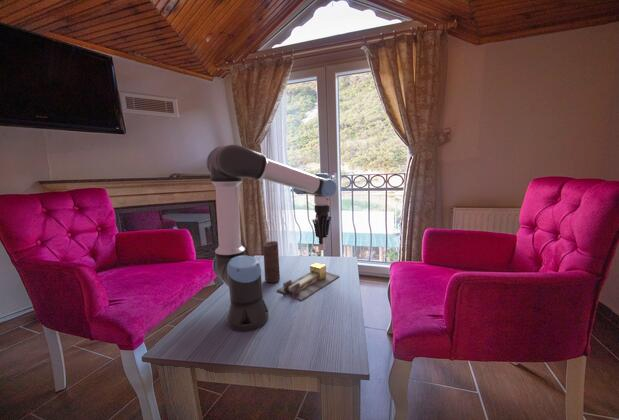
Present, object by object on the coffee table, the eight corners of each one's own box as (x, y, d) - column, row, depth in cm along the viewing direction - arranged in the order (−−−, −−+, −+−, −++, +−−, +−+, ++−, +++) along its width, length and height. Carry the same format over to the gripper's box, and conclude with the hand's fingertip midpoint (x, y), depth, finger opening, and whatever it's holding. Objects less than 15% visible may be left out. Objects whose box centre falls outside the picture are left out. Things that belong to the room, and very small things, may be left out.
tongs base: (301, 301, 111) (300, 289, 111) (276, 291, 121) (276, 280, 120) (339, 276, 134) (339, 267, 133) (316, 270, 143) (315, 261, 142)
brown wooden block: (279, 284, 128) (276, 244, 124) (263, 284, 128) (261, 245, 124) (280, 277, 135) (278, 239, 132) (266, 277, 135) (264, 240, 132)
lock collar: (320, 280, 128) (319, 268, 127) (310, 277, 132) (309, 265, 131) (326, 277, 132) (325, 265, 131) (316, 274, 136) (316, 262, 135)
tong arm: (293, 293, 116) (292, 288, 115) (287, 290, 118) (287, 286, 118) (321, 274, 131) (321, 271, 131) (316, 273, 134) (316, 269, 133)
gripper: (319, 206, 125) (320, 254, 129) (335, 203, 135) (335, 247, 139) (307, 205, 130) (308, 251, 134) (323, 202, 140) (323, 245, 144)
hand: (322, 249), depth 136 cm, fingers closed
